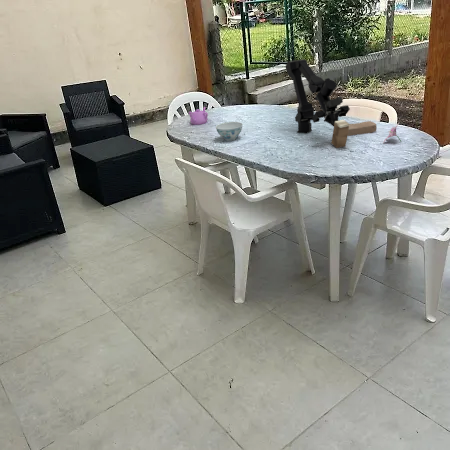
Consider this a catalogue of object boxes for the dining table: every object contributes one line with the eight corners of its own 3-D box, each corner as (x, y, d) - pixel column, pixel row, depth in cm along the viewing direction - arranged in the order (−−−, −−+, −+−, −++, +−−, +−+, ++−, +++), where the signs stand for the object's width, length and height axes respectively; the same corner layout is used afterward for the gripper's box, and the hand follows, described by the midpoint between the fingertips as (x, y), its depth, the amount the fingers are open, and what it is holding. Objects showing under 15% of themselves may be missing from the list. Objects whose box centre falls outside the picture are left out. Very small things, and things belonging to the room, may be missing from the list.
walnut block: (331, 143, 224) (334, 121, 216) (339, 141, 225) (343, 119, 217) (336, 148, 220) (340, 126, 212) (345, 145, 221) (349, 124, 214)
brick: (346, 136, 235) (346, 128, 233) (341, 132, 243) (341, 124, 241) (376, 132, 236) (377, 124, 234) (370, 128, 243) (371, 120, 241)
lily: (393, 138, 227) (385, 122, 224) (414, 133, 217) (405, 116, 214) (382, 152, 222) (373, 136, 219) (402, 147, 212) (393, 130, 209)
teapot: (207, 119, 301) (205, 106, 297) (209, 124, 289) (207, 110, 285) (189, 121, 300) (187, 108, 296) (191, 126, 288) (189, 113, 284)
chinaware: (230, 133, 263) (229, 120, 260) (249, 137, 253) (247, 123, 250) (212, 140, 254) (210, 127, 251) (230, 144, 244) (229, 130, 241)
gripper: (314, 95, 214) (327, 122, 209) (347, 88, 219) (361, 114, 214) (306, 109, 224) (318, 135, 220) (338, 102, 229) (351, 127, 225)
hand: (337, 128), depth 219 cm, fingers closed, pressing on walnut block
